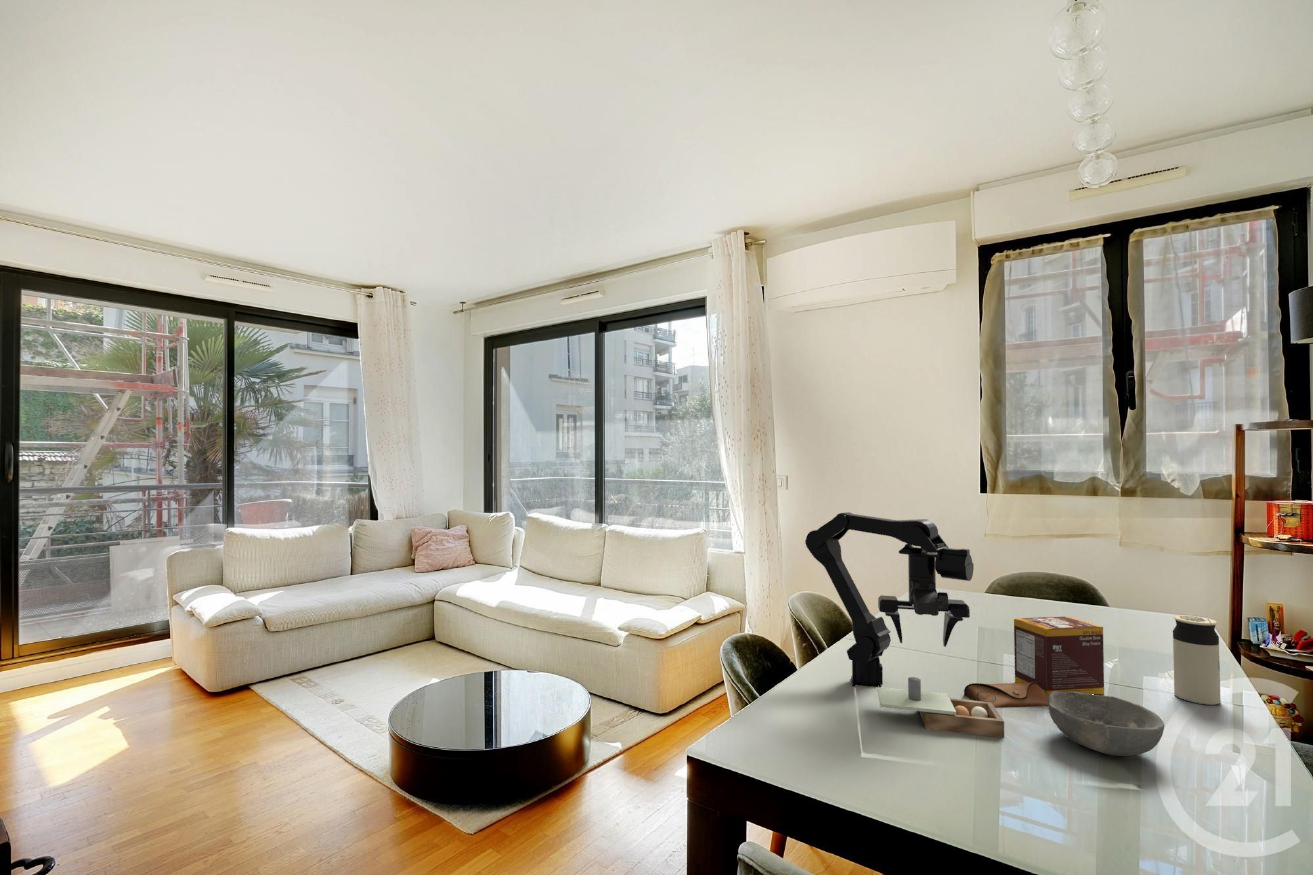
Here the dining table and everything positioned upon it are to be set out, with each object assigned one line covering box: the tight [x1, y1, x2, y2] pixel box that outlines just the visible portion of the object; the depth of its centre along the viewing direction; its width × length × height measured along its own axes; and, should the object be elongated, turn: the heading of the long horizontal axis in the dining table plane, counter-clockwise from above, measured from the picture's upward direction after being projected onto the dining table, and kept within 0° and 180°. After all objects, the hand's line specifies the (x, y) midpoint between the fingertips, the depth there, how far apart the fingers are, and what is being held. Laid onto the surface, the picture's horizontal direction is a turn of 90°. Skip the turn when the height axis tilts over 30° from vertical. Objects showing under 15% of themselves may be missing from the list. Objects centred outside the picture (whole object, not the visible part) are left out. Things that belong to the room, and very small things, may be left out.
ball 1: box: [955, 706, 969, 716], centre depth 128 cm, size 3×3×3 cm
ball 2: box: [971, 707, 988, 718], centre depth 128 cm, size 3×3×3 cm
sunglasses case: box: [963, 682, 1048, 709], centre depth 140 cm, size 18×7×7 cm
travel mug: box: [1172, 614, 1222, 706], centre depth 143 cm, size 8×8×18 cm
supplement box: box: [1013, 615, 1105, 697], centre depth 150 cm, size 10×15×16 cm
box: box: [919, 697, 1005, 738], centre depth 128 cm, size 14×10×4 cm
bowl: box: [1047, 691, 1165, 757], centre depth 117 cm, size 18×18×8 cm
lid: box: [876, 676, 956, 715], centre depth 130 cm, size 14×10×5 cm
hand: (922, 644), depth 143 cm, fingers open, 9 cm apart
